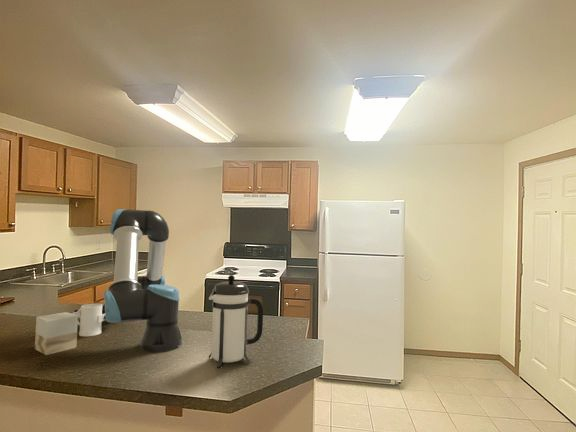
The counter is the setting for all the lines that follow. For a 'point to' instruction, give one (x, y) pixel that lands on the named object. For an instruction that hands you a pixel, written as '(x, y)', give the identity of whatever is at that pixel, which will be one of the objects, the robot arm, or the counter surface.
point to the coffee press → (232, 321)
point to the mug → (90, 319)
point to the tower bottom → (55, 343)
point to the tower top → (56, 324)
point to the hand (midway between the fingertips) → (82, 318)
